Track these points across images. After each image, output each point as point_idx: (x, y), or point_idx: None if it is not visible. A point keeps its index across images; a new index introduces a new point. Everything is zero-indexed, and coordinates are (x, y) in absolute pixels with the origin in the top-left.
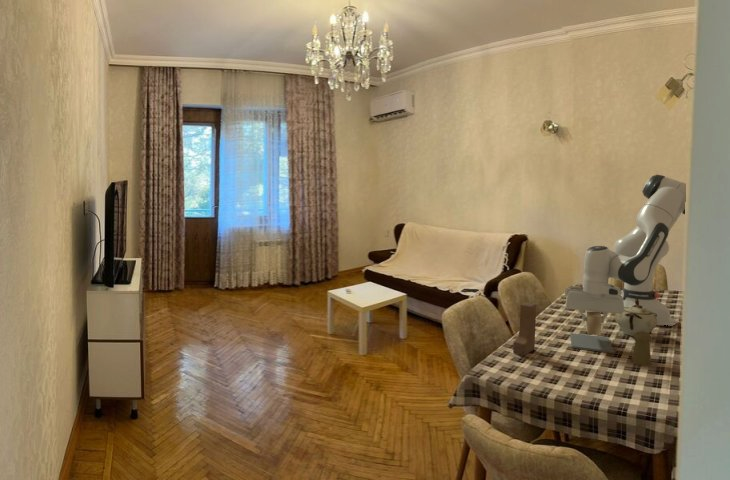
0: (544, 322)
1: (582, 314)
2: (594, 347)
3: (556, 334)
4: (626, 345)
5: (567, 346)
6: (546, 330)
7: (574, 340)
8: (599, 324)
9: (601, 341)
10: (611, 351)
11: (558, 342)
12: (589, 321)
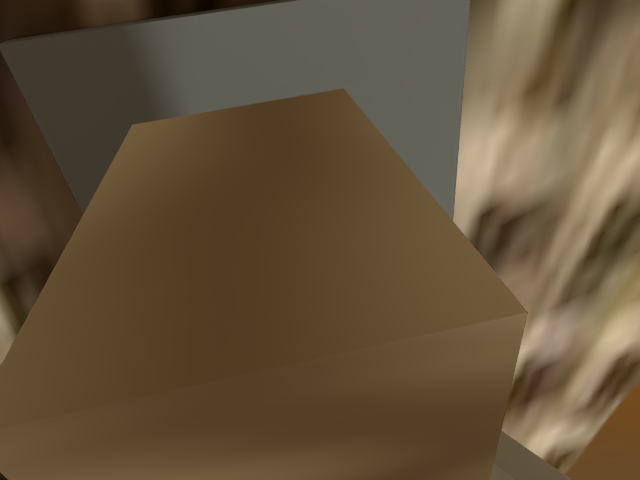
0: (566, 425)
1: (533, 475)
2: (228, 69)
3: (539, 278)
4: (5, 333)
5: (501, 7)
6: (592, 316)
7: (428, 181)
8: (124, 227)
9: None
10: (22, 41)
11: (568, 91)
12: (399, 205)
